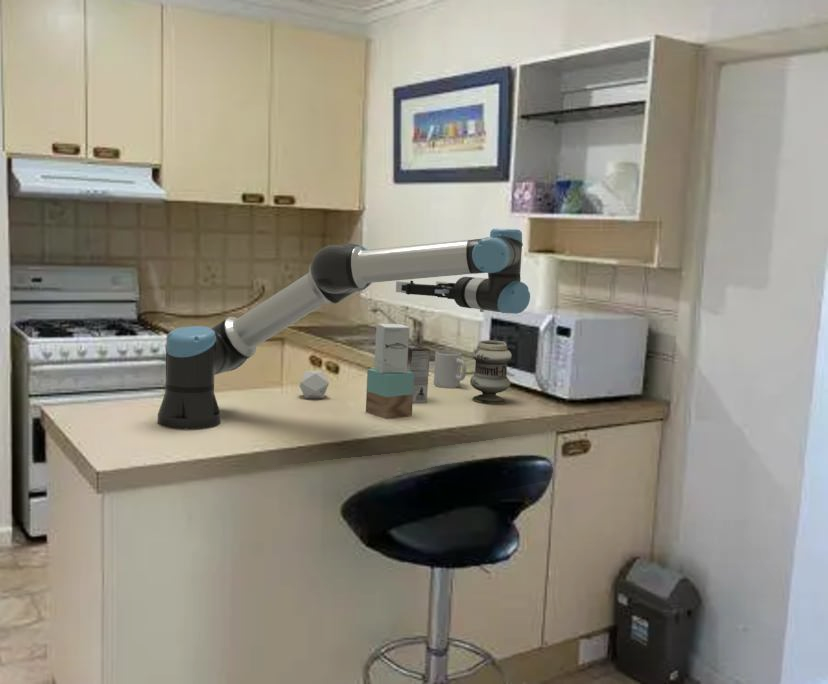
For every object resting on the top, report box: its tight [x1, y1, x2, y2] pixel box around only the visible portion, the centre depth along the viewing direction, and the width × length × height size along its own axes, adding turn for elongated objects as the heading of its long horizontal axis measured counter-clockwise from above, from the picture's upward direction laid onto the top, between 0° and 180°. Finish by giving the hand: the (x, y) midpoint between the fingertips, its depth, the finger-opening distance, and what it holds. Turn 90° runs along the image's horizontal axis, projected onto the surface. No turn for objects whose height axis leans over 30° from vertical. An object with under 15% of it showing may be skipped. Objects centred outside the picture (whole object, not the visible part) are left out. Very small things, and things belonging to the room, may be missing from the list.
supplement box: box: [373, 323, 410, 373], centre depth 239 cm, size 7×7×13 cm
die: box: [298, 370, 330, 399], centre depth 257 cm, size 8×9×10 cm
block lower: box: [365, 390, 414, 420], centre depth 241 cm, size 9×9×6 cm
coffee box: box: [407, 343, 431, 404], centre depth 261 cm, size 9×6×16 cm
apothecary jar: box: [469, 339, 512, 405], centre depth 266 cm, size 12×12×18 cm
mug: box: [433, 350, 467, 389], centre depth 285 cm, size 12×8×11 cm
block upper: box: [366, 368, 414, 397], centre depth 240 cm, size 9×9×6 cm
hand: (417, 286), depth 229 cm, fingers open, 13 cm apart
